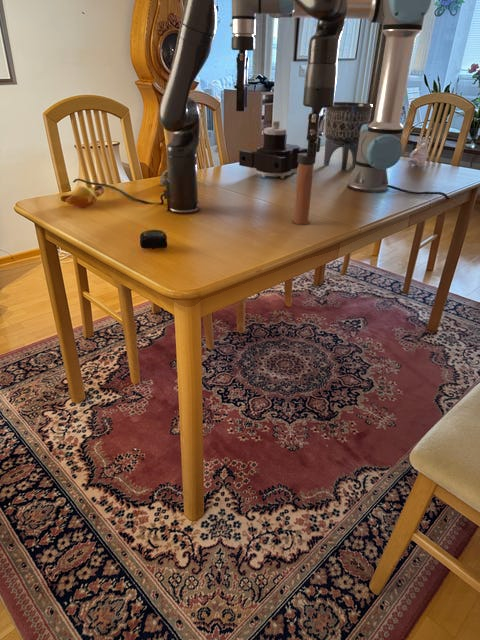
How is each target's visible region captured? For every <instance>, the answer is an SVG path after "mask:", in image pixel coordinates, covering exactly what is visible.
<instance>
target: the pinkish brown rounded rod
mask: <svg viewBox="0 0 480 640" xmlns="http://www.w3.org/2000/svg"><path fill="white" fill-rule="evenodd" d="M314 165H315V164H300V163H298V171H297V176H296V177H297V179H296V188H295V200H294V201H295V202H294V212H293V214H294V215H293V223H294V224H296V225H308V223H309V217H310V206H311V198H312V197H311V195H312V186H313V177H314V176H313V175H314Z"/></svg>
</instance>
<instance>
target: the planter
mask: <svg viewBox="0 0 480 640" xmlns="http://www.w3.org/2000/svg"><path fill="white" fill-rule="evenodd" d="M373 107H374V106H373V104H372V103H367V102H353V101H334V105H333V106H332V107H328V108H325V115H326V118H325V124H324V139H325V144H324V156H323V157H324V158H323V165H325V166H328V165H330V163H331V158H332V156H333V154H334V153H335V151H336V150H337V149H340V148H341V150H342V153H341V166H340V170H341V172H345V171H347V167H348V166H347V165H348V159H349V152H350V154H351V157H352V158H351V159H352V160H351V161H352V166H353V167H355V165H356V158H357V151H358V144H359V137H360V134H359V133H360V130H361V127H362V125H364V124H370V123H371V122H370V121H371V116H372V112H373Z"/></svg>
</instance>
